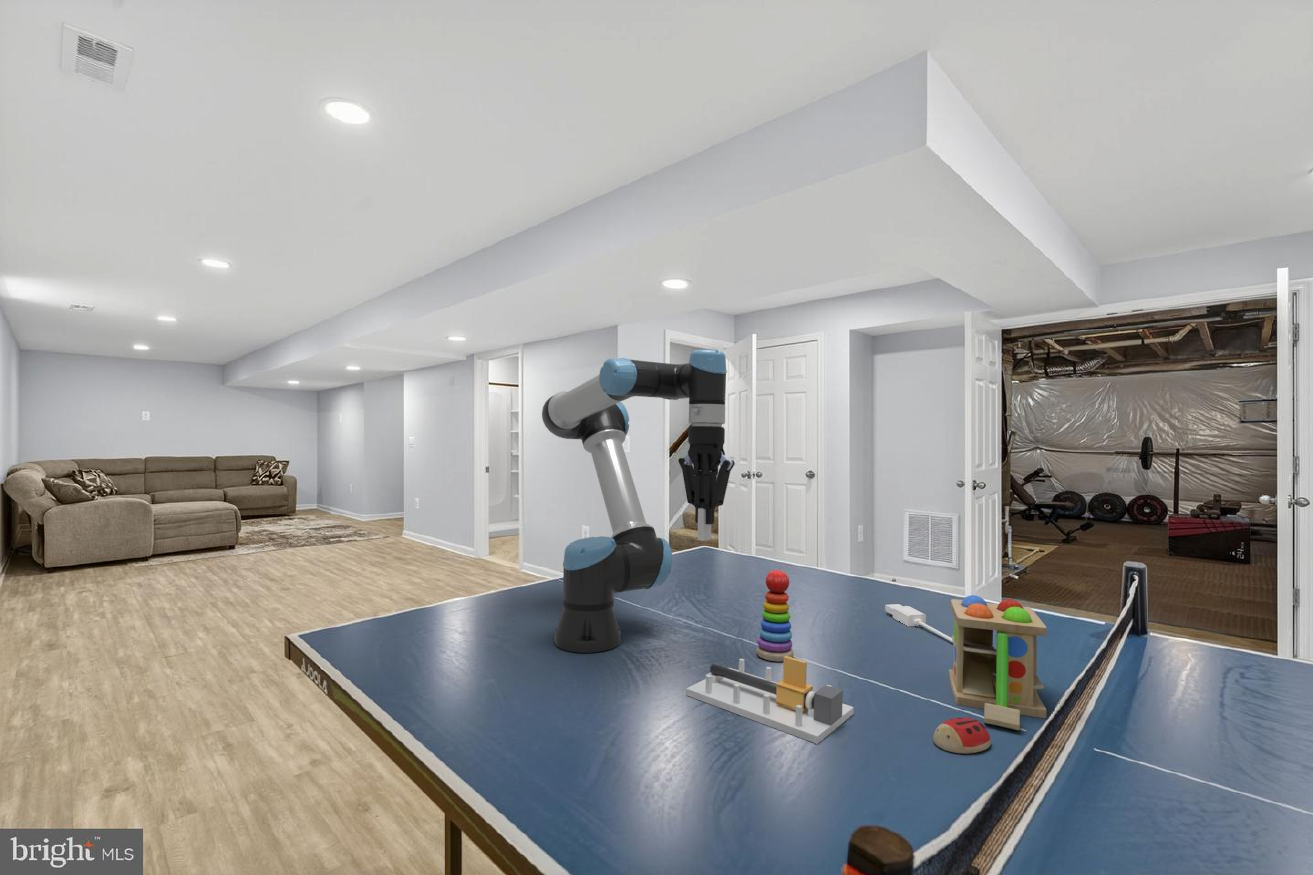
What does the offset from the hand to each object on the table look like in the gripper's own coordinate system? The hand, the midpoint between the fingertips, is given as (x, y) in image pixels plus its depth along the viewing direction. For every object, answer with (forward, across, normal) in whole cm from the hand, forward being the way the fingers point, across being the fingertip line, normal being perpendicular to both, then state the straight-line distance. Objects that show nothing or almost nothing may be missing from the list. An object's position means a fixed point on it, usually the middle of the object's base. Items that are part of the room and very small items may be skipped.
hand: (704, 539), depth 125 cm
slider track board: (+26, +19, -6) cm, 33 cm away
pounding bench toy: (+27, +50, +23) cm, 61 cm away
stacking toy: (+27, +8, +16) cm, 32 cm away
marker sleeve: (+25, +24, -6) cm, 35 cm away
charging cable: (+27, +28, +58) cm, 69 cm away
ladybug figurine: (+27, +49, +3) cm, 56 cm away
